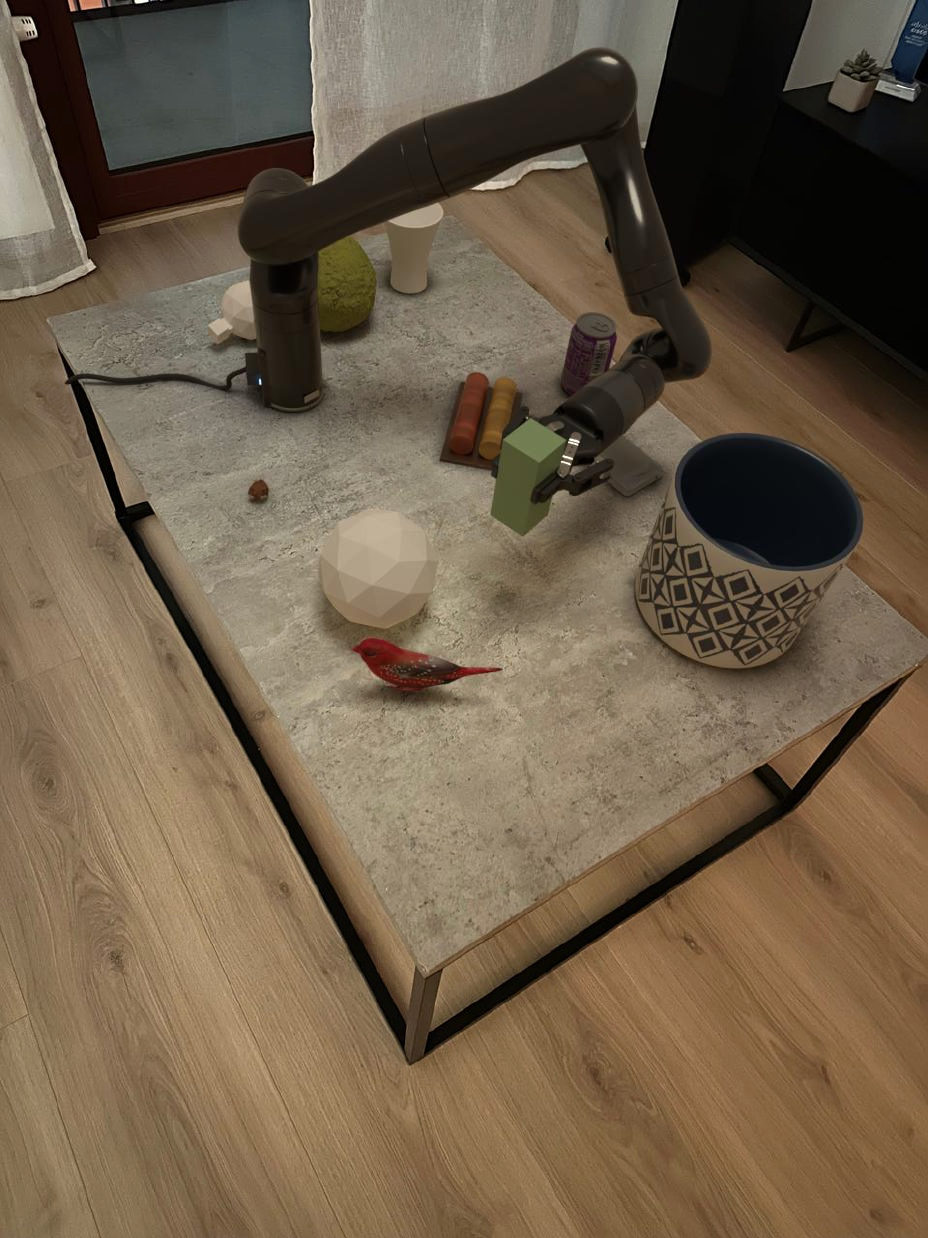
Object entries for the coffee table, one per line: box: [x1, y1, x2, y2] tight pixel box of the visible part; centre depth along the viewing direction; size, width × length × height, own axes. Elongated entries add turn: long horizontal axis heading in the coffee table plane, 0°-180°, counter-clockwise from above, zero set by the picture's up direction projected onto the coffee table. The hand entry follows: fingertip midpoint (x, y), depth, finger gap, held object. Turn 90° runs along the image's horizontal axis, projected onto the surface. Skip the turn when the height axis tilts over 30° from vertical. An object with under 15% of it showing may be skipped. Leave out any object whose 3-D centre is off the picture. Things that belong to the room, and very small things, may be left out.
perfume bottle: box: [207, 279, 256, 345], centre depth 143 cm, size 9×9×12 cm
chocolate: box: [247, 473, 272, 501], centre depth 124 cm, size 3×2×4 cm
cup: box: [383, 202, 444, 294], centre depth 153 cm, size 10×10×14 cm
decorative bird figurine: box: [350, 637, 504, 692], centre depth 105 cm, size 3×18×10 cm, turn 88°
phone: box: [587, 435, 664, 497], centre depth 136 cm, size 8×16×1 cm, turn 40°
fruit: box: [318, 235, 378, 333], centre depth 146 cm, size 16×14×15 cm
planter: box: [634, 432, 865, 669], centre depth 113 cm, size 22×22×20 cm
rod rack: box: [439, 371, 523, 471], centre depth 136 cm, size 18×10×4 cm, turn 170°
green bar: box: [489, 418, 566, 538], centre depth 102 cm, size 5×5×12 cm
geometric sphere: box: [317, 507, 439, 630], centre depth 111 cm, size 14×15×15 cm
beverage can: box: [560, 311, 618, 396], centre depth 141 cm, size 7×7×12 cm
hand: (514, 484), depth 100 cm, fingers closed on green bar, 5 cm apart
